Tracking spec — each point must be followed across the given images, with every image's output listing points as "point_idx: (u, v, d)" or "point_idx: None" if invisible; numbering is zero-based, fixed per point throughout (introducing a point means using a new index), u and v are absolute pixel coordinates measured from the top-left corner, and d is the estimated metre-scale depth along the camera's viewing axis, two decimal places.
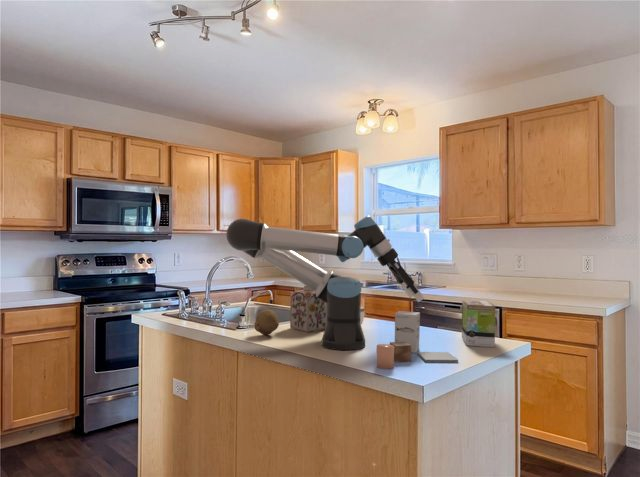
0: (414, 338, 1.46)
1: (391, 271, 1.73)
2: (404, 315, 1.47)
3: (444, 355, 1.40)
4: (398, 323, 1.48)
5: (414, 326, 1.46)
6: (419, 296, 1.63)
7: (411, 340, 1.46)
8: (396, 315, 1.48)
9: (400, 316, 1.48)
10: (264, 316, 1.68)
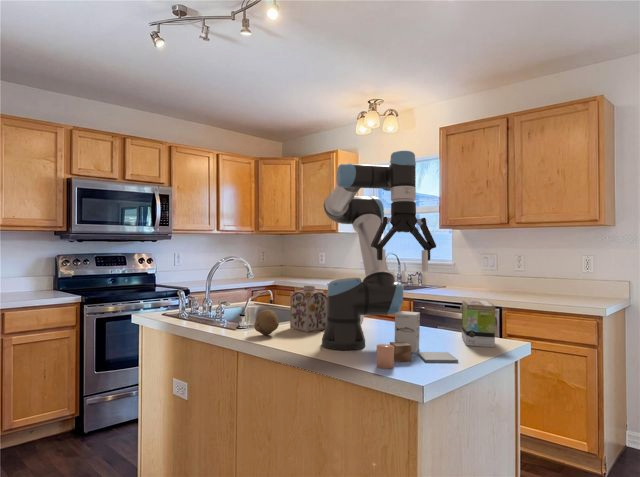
0: (414, 338, 1.46)
1: None
2: (404, 315, 1.47)
3: (444, 355, 1.40)
4: (398, 323, 1.48)
5: (414, 326, 1.46)
6: (381, 266, 1.33)
7: (411, 340, 1.46)
8: (396, 315, 1.48)
9: (400, 316, 1.48)
10: (264, 316, 1.68)
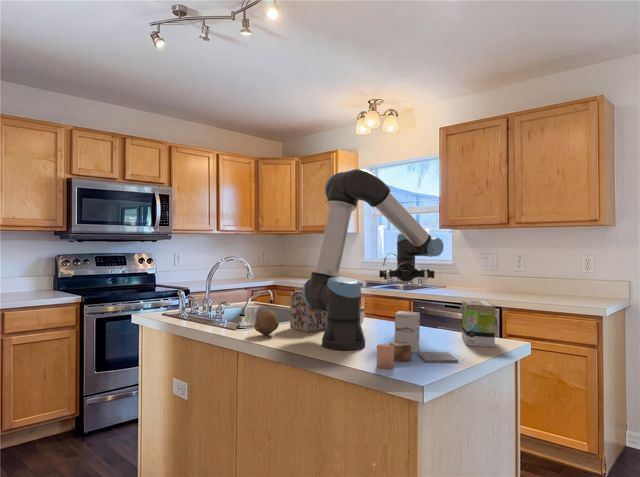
0: (414, 338, 1.46)
1: (398, 268, 1.73)
2: (404, 315, 1.47)
3: (444, 355, 1.40)
4: (399, 323, 1.48)
5: (414, 326, 1.46)
6: None
7: (411, 340, 1.46)
8: (396, 315, 1.48)
9: (400, 316, 1.48)
10: (264, 316, 1.68)
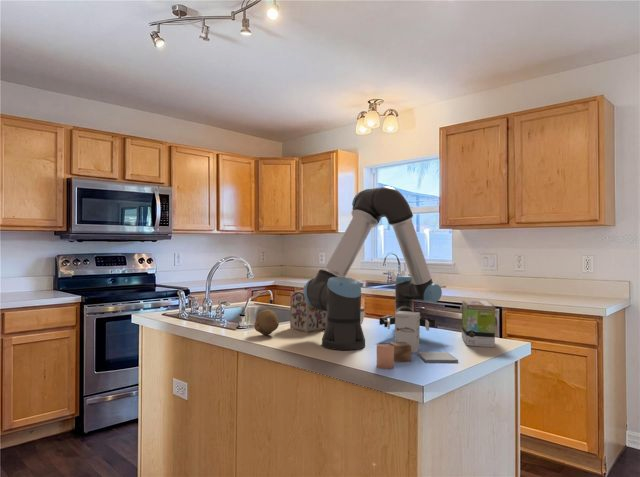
0: (414, 338, 1.46)
1: None
2: (404, 315, 1.47)
3: (444, 355, 1.40)
4: (399, 323, 1.48)
5: (414, 326, 1.46)
6: None
7: (411, 340, 1.46)
8: (396, 315, 1.48)
9: (400, 316, 1.48)
10: (264, 316, 1.68)
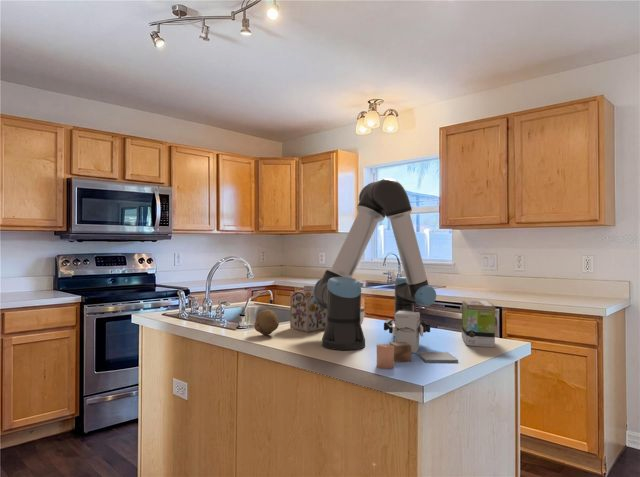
0: (414, 338, 1.46)
1: None
2: (404, 315, 1.47)
3: (444, 355, 1.40)
4: (399, 323, 1.48)
5: (414, 326, 1.46)
6: None
7: (411, 340, 1.46)
8: (396, 315, 1.48)
9: (400, 316, 1.48)
10: (264, 316, 1.68)
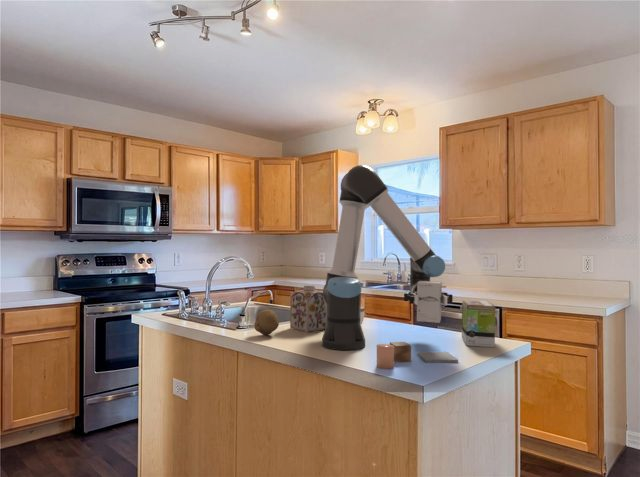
0: (437, 307, 1.40)
1: None
2: (427, 284, 1.41)
3: (444, 355, 1.40)
4: (421, 292, 1.42)
5: (438, 295, 1.40)
6: None
7: (434, 309, 1.40)
8: (418, 284, 1.42)
9: (423, 285, 1.41)
10: (264, 316, 1.68)
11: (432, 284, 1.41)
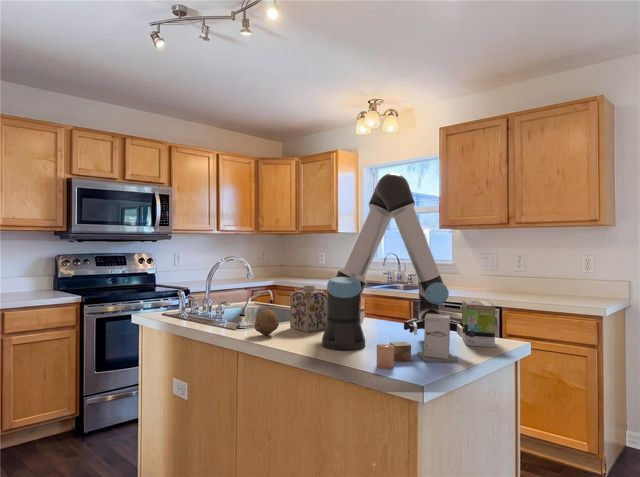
0: (445, 343, 1.35)
1: None
2: (435, 318, 1.36)
3: None
4: (429, 327, 1.37)
5: (446, 330, 1.35)
6: None
7: (442, 345, 1.36)
8: (426, 318, 1.37)
9: (430, 319, 1.37)
10: (264, 316, 1.68)
11: (440, 319, 1.36)
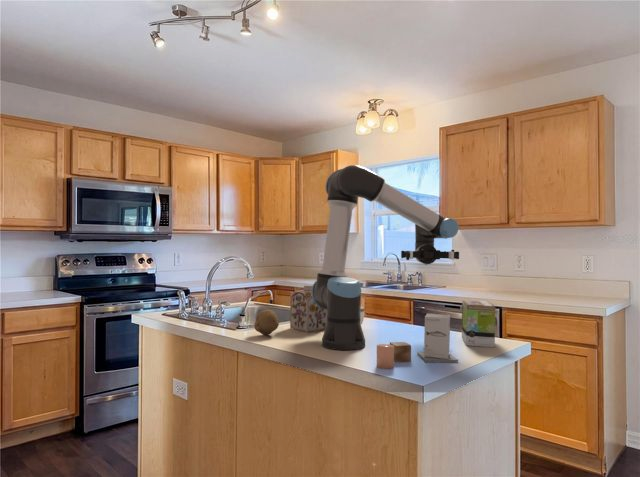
0: (445, 343, 1.35)
1: (420, 249, 1.66)
2: (435, 318, 1.36)
3: None
4: (429, 327, 1.37)
5: (446, 330, 1.35)
6: None
7: (442, 345, 1.36)
8: (426, 318, 1.37)
9: (430, 319, 1.37)
10: (264, 316, 1.68)
11: (440, 319, 1.36)
